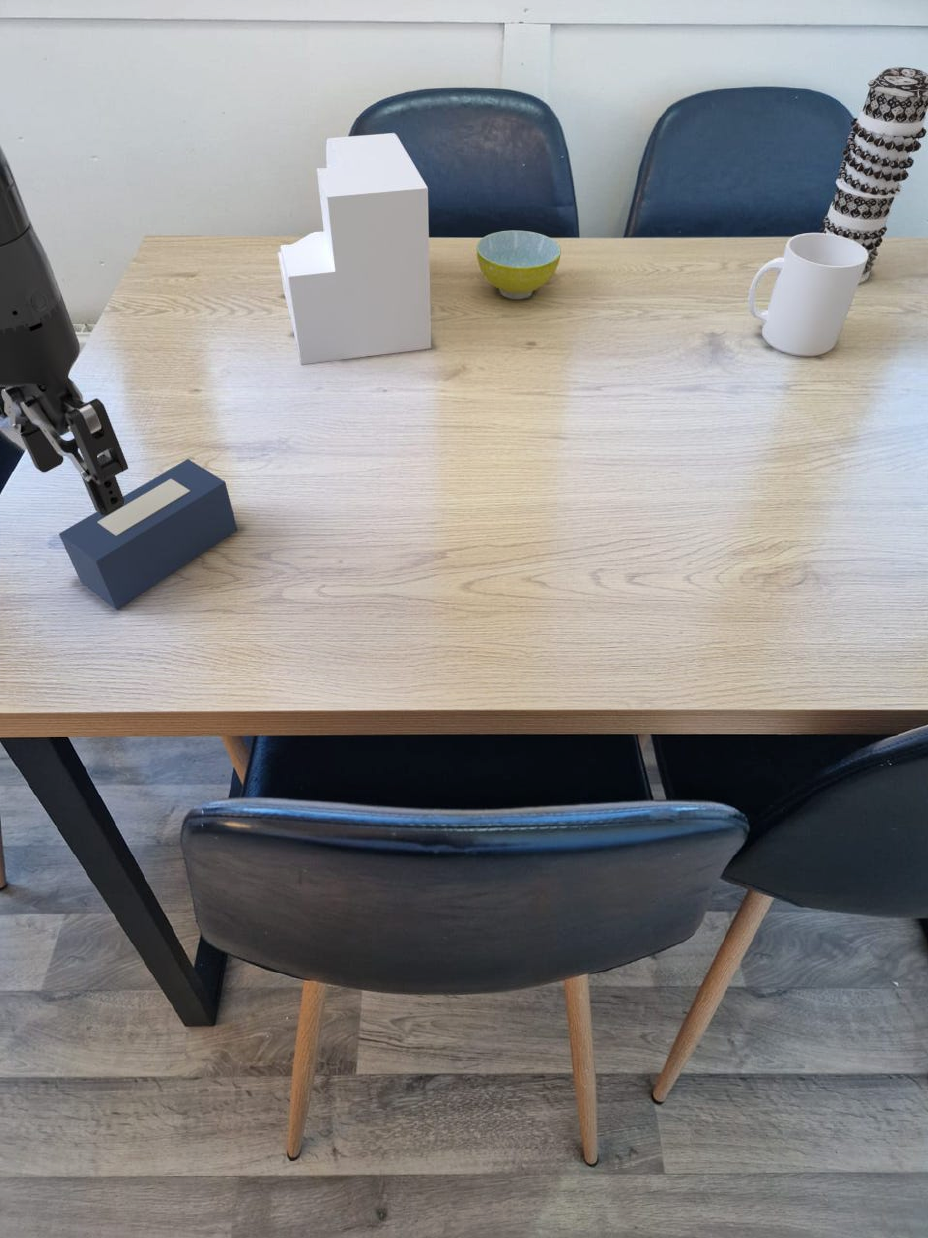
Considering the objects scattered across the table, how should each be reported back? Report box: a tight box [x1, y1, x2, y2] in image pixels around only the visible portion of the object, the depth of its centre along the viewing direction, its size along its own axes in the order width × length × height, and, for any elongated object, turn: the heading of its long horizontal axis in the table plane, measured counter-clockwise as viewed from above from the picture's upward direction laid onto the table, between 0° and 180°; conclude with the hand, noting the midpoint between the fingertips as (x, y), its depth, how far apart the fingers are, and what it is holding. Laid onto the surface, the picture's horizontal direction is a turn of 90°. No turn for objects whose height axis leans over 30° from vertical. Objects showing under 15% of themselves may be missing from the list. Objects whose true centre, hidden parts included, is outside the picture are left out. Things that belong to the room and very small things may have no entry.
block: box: [277, 132, 432, 365], centre depth 105 cm, size 25×16×19 cm, turn 15°
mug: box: [747, 232, 868, 358], centre depth 104 cm, size 10×12×12 cm
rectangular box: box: [58, 458, 238, 611], centre depth 77 cm, size 14×6×6 cm, turn 141°
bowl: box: [476, 230, 562, 300], centre depth 114 cm, size 11×12×6 cm
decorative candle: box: [819, 66, 928, 284], centre depth 112 cm, size 9×9×25 cm
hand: (80, 487), depth 68 cm, fingers open, 8 cm apart
